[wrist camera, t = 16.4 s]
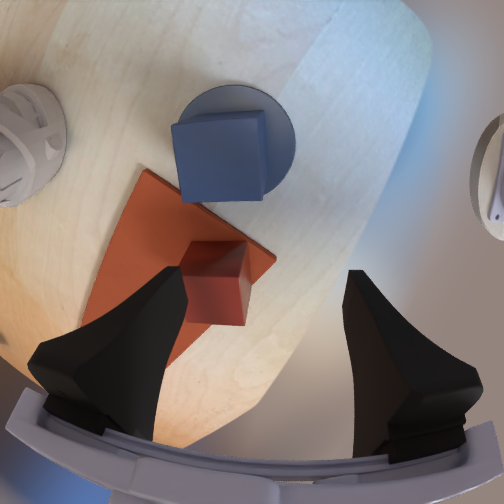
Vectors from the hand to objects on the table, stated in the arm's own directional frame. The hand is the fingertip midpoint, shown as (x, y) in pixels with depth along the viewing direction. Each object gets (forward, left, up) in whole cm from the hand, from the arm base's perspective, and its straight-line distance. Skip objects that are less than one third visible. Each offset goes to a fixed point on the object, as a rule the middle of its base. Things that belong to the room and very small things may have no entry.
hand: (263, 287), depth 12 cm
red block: (+4, +5, -9) cm, 11 cm away
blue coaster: (+2, -4, -9) cm, 11 cm away
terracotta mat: (+17, +16, -9) cm, 25 cm away
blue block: (+3, -4, -9) cm, 10 cm away
